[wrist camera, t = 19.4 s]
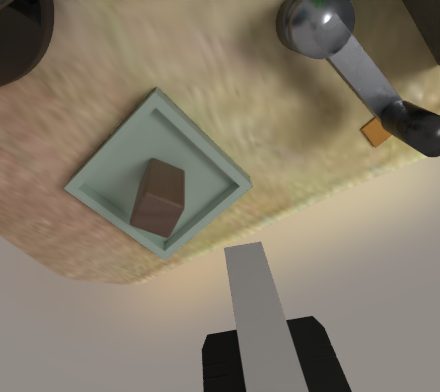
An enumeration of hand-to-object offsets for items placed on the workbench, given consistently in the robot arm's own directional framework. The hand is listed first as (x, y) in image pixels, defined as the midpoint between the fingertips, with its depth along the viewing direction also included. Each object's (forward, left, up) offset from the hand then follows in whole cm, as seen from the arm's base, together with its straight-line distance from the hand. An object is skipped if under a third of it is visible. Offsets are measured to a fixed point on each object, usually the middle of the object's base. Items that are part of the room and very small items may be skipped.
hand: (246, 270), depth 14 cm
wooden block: (+1, -9, -24) cm, 25 cm away
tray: (+2, -9, -24) cm, 26 cm away
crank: (+5, +12, -20) cm, 24 cm away
